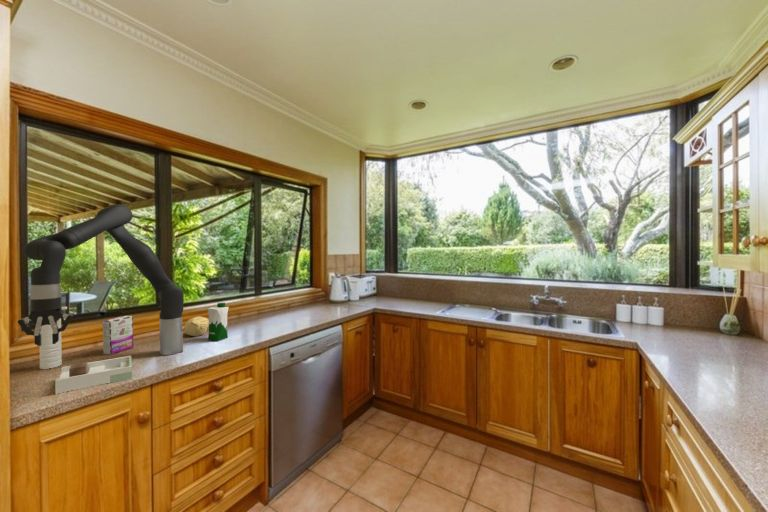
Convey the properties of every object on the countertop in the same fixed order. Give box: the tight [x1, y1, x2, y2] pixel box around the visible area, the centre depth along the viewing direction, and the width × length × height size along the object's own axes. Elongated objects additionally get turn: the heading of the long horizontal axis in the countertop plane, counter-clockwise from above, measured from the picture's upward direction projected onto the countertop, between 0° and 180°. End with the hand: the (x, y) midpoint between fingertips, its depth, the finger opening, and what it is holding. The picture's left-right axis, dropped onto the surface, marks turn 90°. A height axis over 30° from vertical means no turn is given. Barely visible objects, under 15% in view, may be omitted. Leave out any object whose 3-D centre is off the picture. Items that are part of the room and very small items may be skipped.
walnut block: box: [69, 362, 88, 377], centre depth 117 cm, size 4×4×4 cm
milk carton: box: [206, 302, 230, 342], centre depth 176 cm, size 9×9×20 cm
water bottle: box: [38, 306, 68, 370], centre depth 134 cm, size 9×6×25 cm
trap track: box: [54, 355, 133, 395], centre depth 122 cm, size 21×15×5 cm
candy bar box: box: [102, 315, 134, 356], centre depth 154 cm, size 11×5×16 cm, turn 168°
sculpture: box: [183, 315, 209, 337], centre depth 183 cm, size 12×12×11 cm
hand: (46, 344), depth 111 cm, fingers open, 3 cm apart
